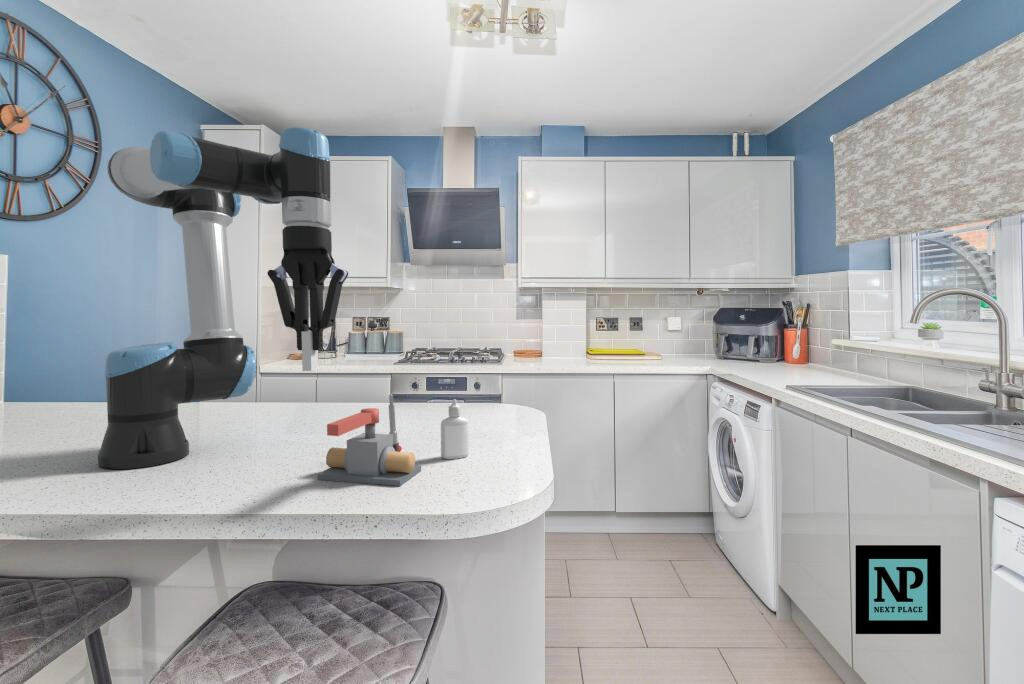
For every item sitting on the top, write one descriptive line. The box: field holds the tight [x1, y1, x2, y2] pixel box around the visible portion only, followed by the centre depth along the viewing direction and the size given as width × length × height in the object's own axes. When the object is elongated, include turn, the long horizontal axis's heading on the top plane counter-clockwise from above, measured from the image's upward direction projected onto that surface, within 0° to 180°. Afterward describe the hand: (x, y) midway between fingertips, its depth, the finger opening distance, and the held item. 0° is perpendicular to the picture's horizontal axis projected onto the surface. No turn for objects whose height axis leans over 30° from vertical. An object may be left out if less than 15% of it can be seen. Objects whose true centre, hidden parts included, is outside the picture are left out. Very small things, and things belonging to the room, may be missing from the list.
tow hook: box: [388, 394, 402, 452], centre depth 107 cm, size 8×13×9 cm
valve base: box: [317, 423, 422, 487], centre depth 94 cm, size 16×9×10 cm, turn 77°
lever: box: [326, 407, 380, 437], centre depth 88 cm, size 14×3×2 cm, turn 167°
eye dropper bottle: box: [440, 399, 470, 460], centre depth 106 cm, size 4×6×12 cm
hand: (310, 369), depth 85 cm, fingers closed
